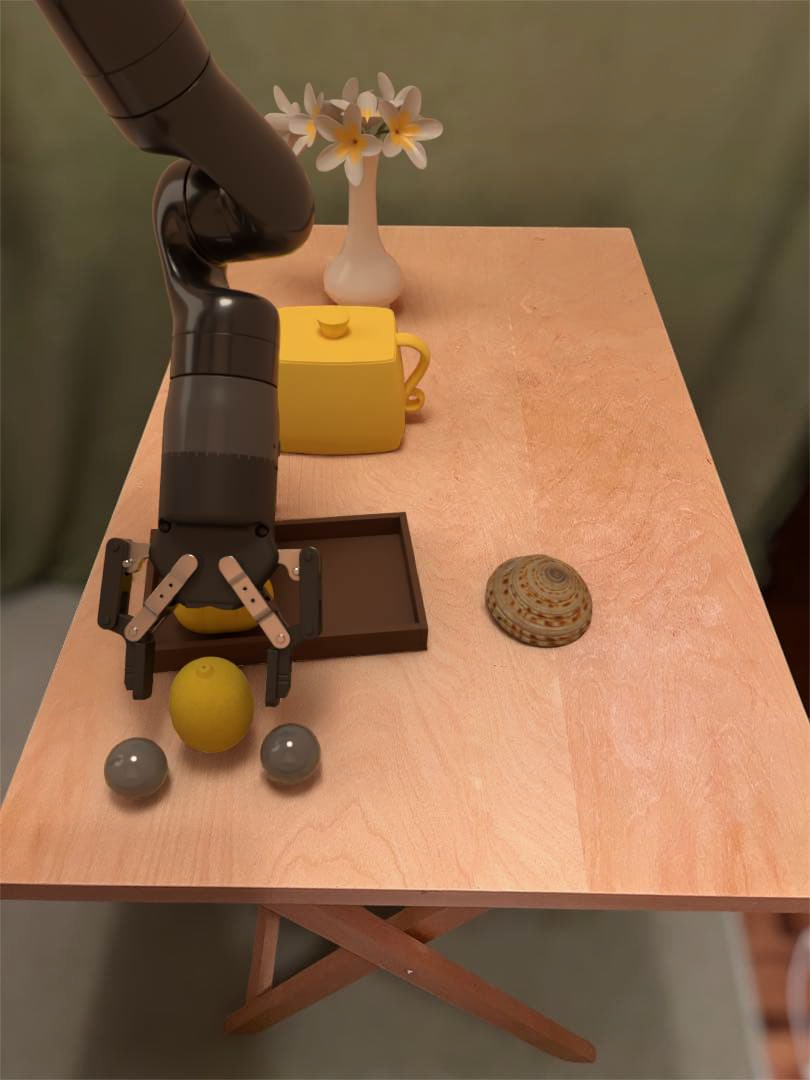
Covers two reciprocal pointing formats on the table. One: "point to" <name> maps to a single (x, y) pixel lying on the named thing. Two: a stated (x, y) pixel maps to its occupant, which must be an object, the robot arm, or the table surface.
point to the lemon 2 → (211, 704)
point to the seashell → (539, 600)
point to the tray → (323, 597)
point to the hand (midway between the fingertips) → (207, 702)
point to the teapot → (345, 380)
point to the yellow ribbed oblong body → (217, 618)
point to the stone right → (290, 753)
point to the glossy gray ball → (135, 768)
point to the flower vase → (359, 174)
